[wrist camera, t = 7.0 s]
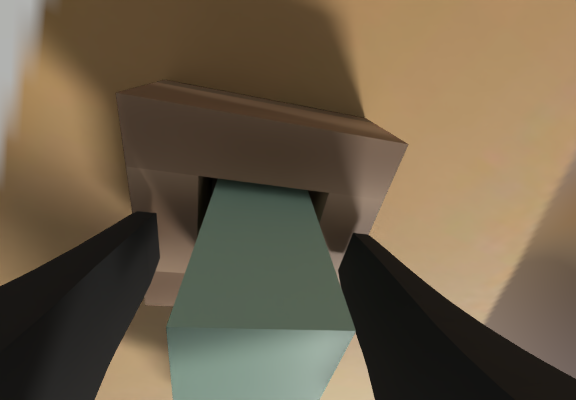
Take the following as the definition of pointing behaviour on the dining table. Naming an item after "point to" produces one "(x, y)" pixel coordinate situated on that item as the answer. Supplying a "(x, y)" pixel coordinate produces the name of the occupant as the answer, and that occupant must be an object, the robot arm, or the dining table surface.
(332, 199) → the hole block
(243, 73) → the dining table surface
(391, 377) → the robot arm
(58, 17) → the dining table surface
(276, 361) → the square peg
